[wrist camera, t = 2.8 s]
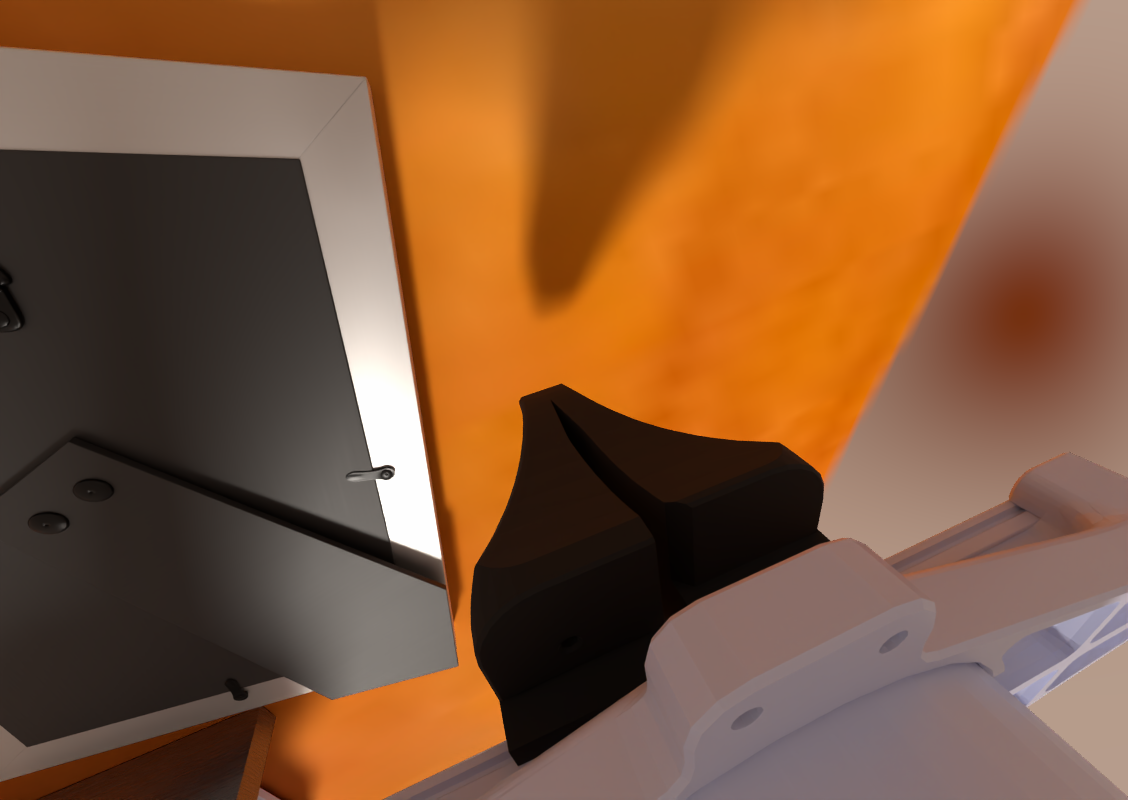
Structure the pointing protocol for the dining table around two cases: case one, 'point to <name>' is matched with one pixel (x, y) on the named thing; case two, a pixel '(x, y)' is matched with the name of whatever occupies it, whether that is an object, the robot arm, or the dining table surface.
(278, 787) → the dining table surface
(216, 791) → the bookend
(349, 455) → the picture frame
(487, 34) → the dining table surface
